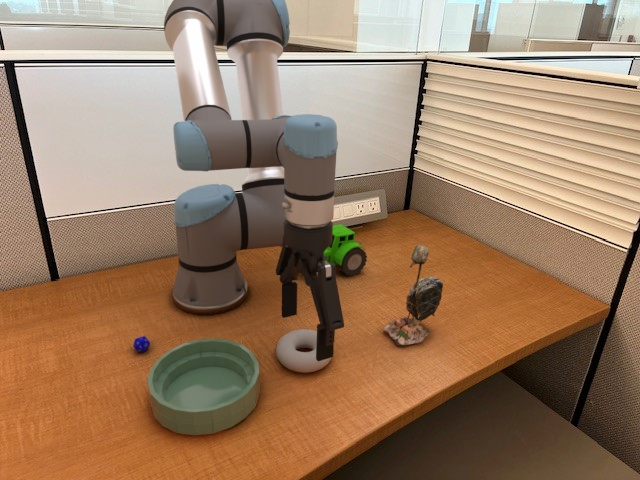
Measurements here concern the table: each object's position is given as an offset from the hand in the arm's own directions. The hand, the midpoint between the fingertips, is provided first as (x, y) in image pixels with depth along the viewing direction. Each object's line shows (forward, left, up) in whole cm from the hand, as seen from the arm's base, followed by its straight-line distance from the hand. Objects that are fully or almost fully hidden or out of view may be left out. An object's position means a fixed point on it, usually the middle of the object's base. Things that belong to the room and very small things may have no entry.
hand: (305, 335), depth 82 cm
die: (-14, -25, -5) cm, 29 cm away
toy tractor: (-27, +20, -5) cm, 34 cm away
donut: (0, 0, -5) cm, 5 cm away
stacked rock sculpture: (+2, +22, -5) cm, 23 cm away
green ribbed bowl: (+2, -18, -5) cm, 19 cm away
